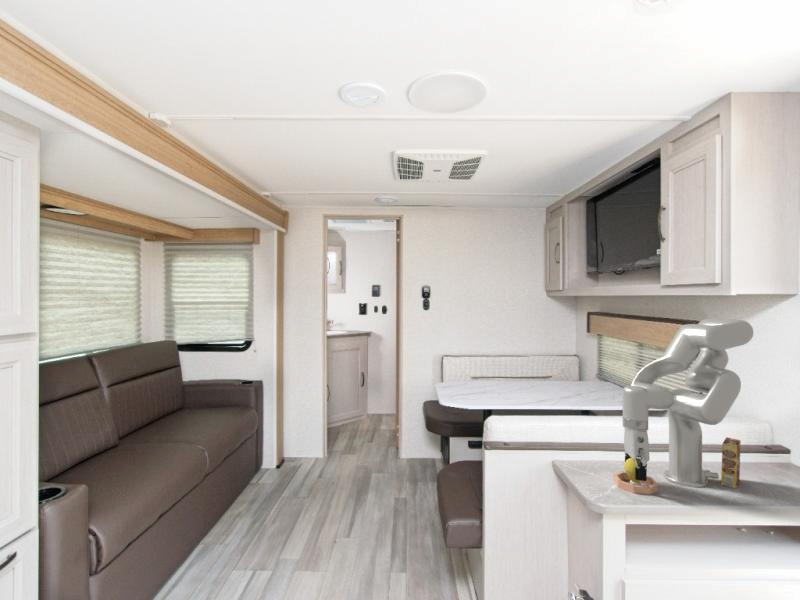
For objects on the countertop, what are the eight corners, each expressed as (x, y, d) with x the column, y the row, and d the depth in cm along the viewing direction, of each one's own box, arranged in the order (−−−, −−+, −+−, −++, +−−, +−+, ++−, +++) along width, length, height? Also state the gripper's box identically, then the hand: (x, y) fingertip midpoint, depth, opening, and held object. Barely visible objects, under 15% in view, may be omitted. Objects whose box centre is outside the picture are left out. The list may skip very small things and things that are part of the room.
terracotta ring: (647, 481, 141) (647, 473, 141) (662, 498, 129) (662, 489, 129) (610, 478, 143) (610, 470, 143) (621, 494, 132) (621, 485, 132)
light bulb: (641, 484, 139) (642, 455, 139) (650, 493, 133) (650, 463, 133) (621, 482, 140) (621, 453, 140) (628, 491, 134) (628, 461, 134)
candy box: (737, 491, 134) (737, 445, 134) (720, 487, 137) (720, 442, 137) (740, 483, 140) (740, 439, 140) (725, 479, 143) (725, 436, 143)
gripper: (658, 432, 127) (658, 486, 127) (637, 416, 144) (637, 464, 144) (632, 430, 129) (632, 484, 129) (615, 415, 146) (615, 462, 146)
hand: (635, 473), depth 136 cm, fingers open, 9 cm apart
